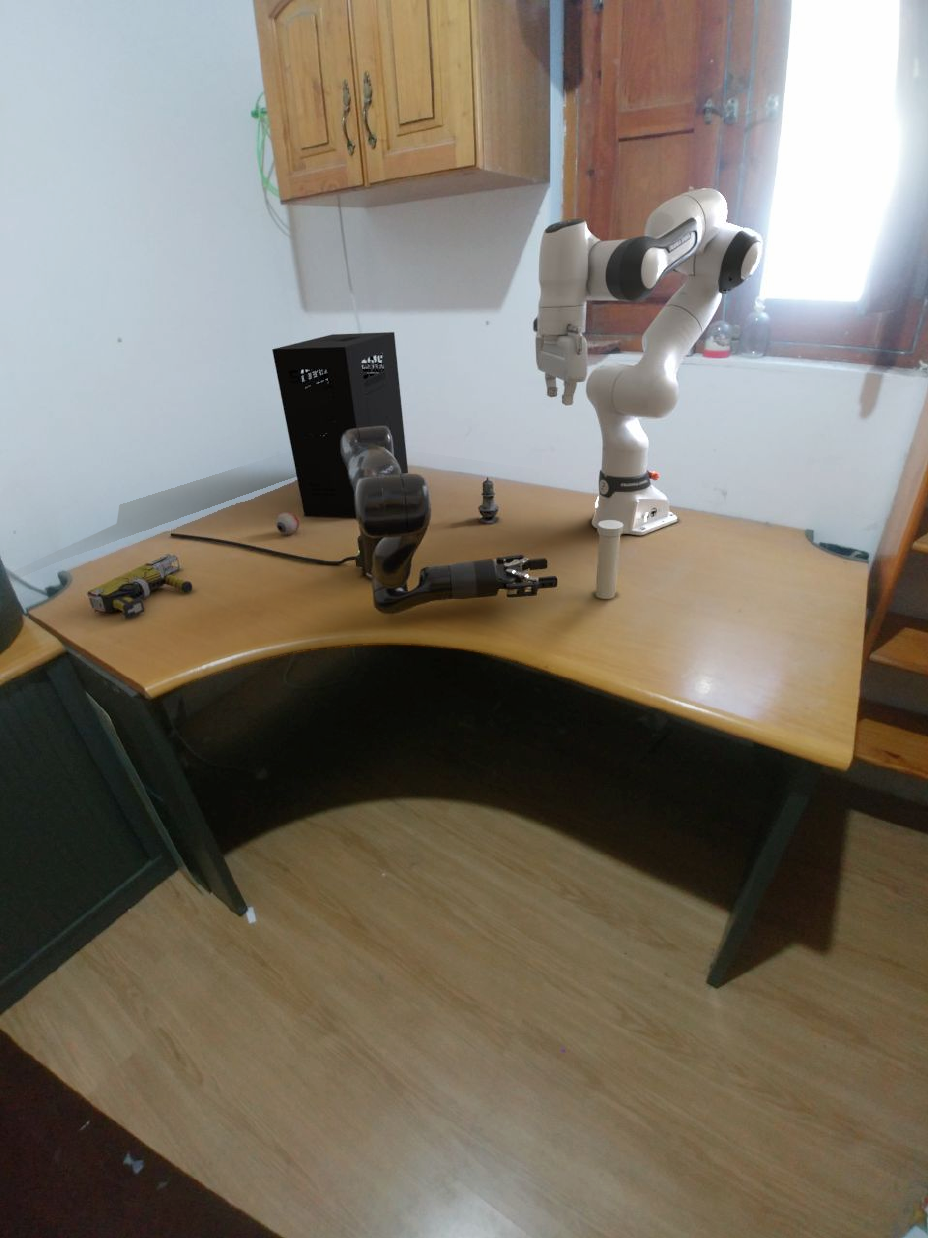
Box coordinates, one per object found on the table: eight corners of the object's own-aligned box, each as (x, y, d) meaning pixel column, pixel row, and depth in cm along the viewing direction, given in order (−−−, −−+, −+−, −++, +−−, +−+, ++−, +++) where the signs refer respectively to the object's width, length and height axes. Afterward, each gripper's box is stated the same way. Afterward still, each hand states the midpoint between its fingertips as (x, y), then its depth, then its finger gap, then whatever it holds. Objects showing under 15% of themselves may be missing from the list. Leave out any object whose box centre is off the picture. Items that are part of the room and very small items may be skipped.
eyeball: (273, 537, 164) (268, 516, 161) (287, 528, 169) (282, 508, 166) (291, 539, 161) (286, 518, 158) (305, 530, 166) (301, 510, 163)
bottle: (612, 600, 124) (618, 531, 116) (593, 597, 125) (597, 528, 118) (617, 592, 127) (622, 524, 119) (598, 589, 128) (602, 521, 121)
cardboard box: (368, 517, 173) (345, 346, 150) (304, 515, 177) (272, 349, 155) (408, 478, 204) (394, 331, 182) (353, 477, 209) (332, 334, 186)
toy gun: (216, 562, 143) (165, 551, 147) (137, 606, 123) (80, 592, 127) (219, 580, 145) (169, 569, 149) (142, 626, 125) (86, 611, 129)
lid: (619, 538, 116) (620, 530, 115) (594, 535, 118) (594, 527, 117) (625, 529, 120) (626, 521, 119) (600, 526, 122) (601, 518, 121)
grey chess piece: (497, 523, 164) (496, 480, 158) (476, 523, 165) (474, 480, 159) (501, 516, 168) (500, 473, 162) (480, 515, 170) (478, 473, 164)
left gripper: (476, 578, 112) (561, 570, 114) (467, 548, 125) (544, 541, 126) (477, 613, 116) (560, 604, 117) (469, 580, 128) (543, 573, 130)
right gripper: (598, 325, 104) (593, 408, 111) (560, 319, 122) (558, 391, 129) (563, 327, 103) (561, 411, 110) (530, 321, 121) (529, 393, 128)
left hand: (551, 571), depth 122 cm, fingers open, 8 cm apart
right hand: (559, 400), depth 120 cm, fingers open, 8 cm apart
